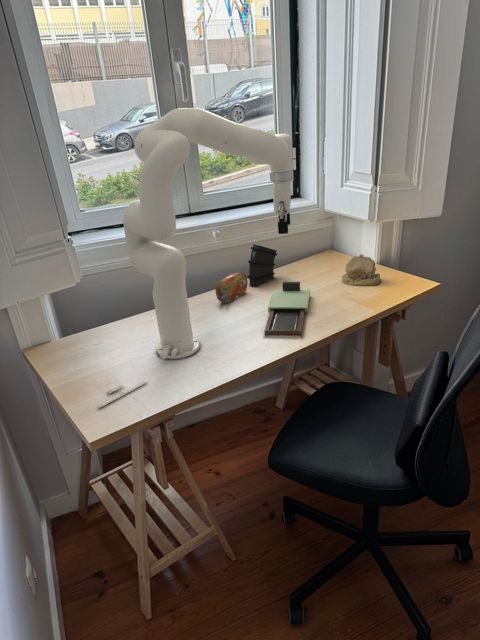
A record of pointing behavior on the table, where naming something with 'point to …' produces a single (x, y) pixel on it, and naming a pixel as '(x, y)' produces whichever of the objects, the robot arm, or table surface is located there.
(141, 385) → the picture light
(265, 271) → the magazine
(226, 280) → the tin
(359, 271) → the ceramic model
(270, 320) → the tray
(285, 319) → the panel
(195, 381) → the table surface
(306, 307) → the lid
